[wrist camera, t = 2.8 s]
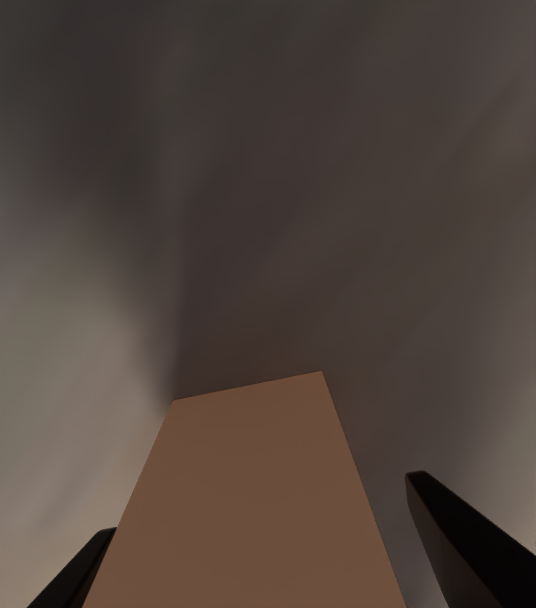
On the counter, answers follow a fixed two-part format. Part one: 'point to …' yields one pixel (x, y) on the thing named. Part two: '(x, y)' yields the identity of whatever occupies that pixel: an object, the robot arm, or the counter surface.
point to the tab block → (249, 510)
